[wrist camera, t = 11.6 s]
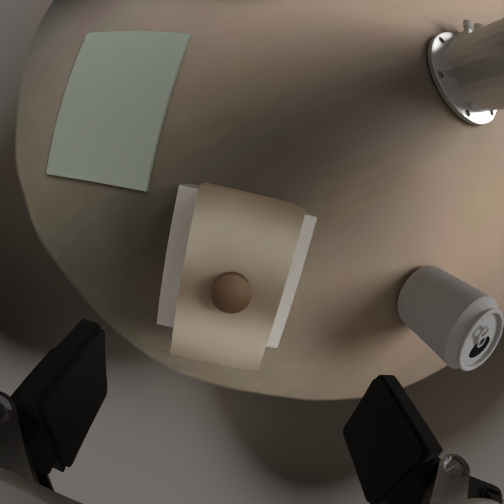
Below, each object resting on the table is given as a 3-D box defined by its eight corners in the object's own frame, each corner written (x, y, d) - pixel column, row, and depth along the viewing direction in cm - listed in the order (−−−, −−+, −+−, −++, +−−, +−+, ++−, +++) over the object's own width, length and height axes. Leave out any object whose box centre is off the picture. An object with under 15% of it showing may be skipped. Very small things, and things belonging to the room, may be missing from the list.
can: (398, 332, 30) (452, 391, 19) (388, 280, 29) (455, 331, 17) (444, 305, 30) (505, 350, 18) (438, 252, 28) (511, 288, 17)
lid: (205, 182, 19) (197, 183, 15) (296, 204, 20) (310, 210, 16) (176, 333, 22) (167, 362, 18) (255, 349, 23) (258, 379, 19)
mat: (89, 35, 20) (87, 33, 19) (191, 36, 21) (190, 33, 21) (49, 173, 24) (46, 173, 23) (147, 191, 25) (145, 191, 24)
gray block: (192, 183, 25) (179, 184, 19) (299, 208, 26) (317, 217, 20) (171, 295, 28) (156, 323, 22) (269, 315, 29) (277, 348, 23)
